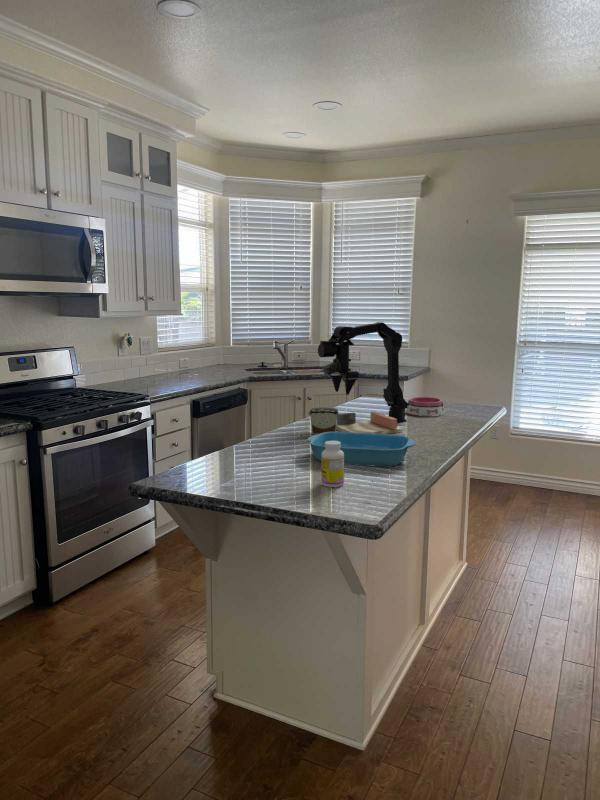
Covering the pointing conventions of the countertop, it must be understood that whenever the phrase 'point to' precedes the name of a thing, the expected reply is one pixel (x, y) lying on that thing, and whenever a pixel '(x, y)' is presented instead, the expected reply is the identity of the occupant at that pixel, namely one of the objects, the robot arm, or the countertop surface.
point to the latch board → (361, 425)
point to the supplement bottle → (332, 465)
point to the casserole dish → (364, 447)
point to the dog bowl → (425, 406)
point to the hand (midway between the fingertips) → (342, 393)
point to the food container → (323, 419)
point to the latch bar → (383, 420)
